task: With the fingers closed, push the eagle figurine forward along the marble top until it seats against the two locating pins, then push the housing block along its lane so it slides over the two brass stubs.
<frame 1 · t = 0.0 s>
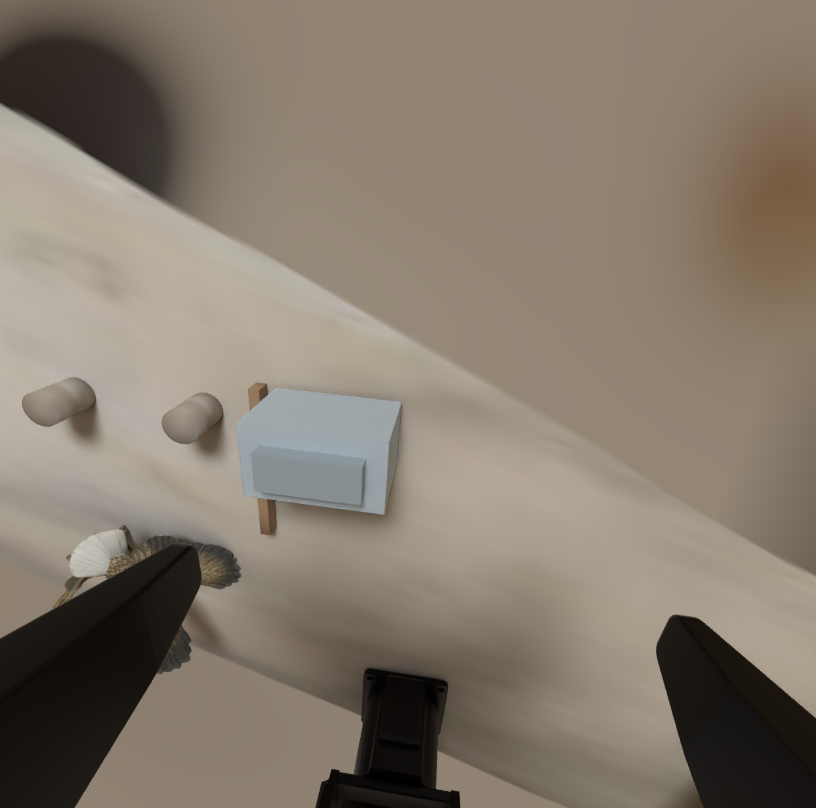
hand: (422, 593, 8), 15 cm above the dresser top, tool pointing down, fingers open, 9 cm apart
pin seat fixture: (237, 469, 25), on the dresser top
housing block: (324, 450, 20), point 3 cm above the dresser top, slide at 0.0 cm
eagle figurine: (178, 551, 29), on the dresser top
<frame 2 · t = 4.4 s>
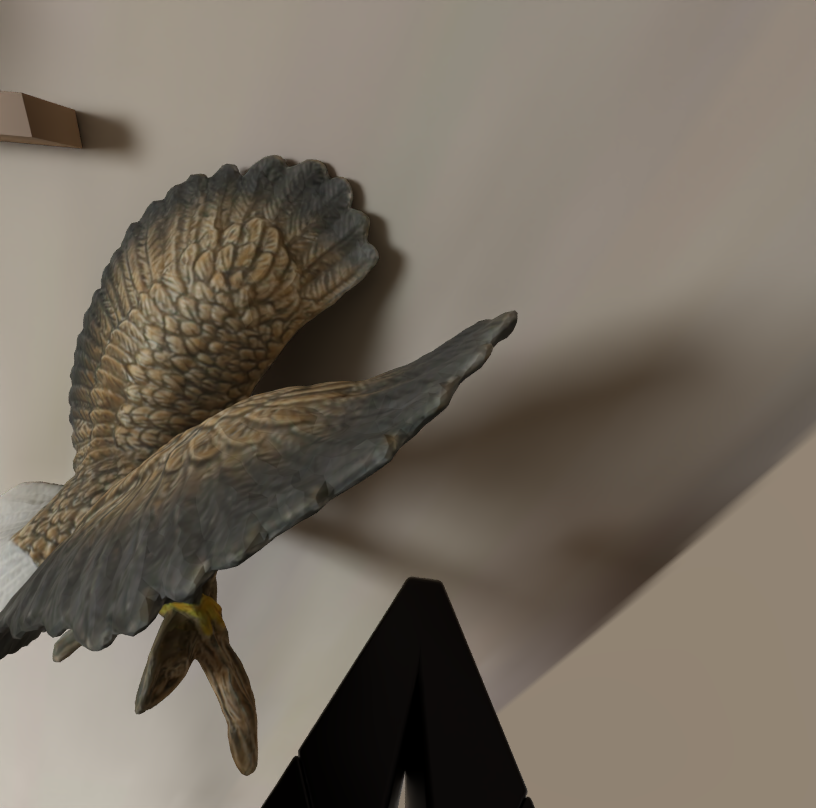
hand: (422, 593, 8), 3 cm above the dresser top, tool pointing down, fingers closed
eagle figurine: (274, 392, 9), on the dresser top, touching gripper
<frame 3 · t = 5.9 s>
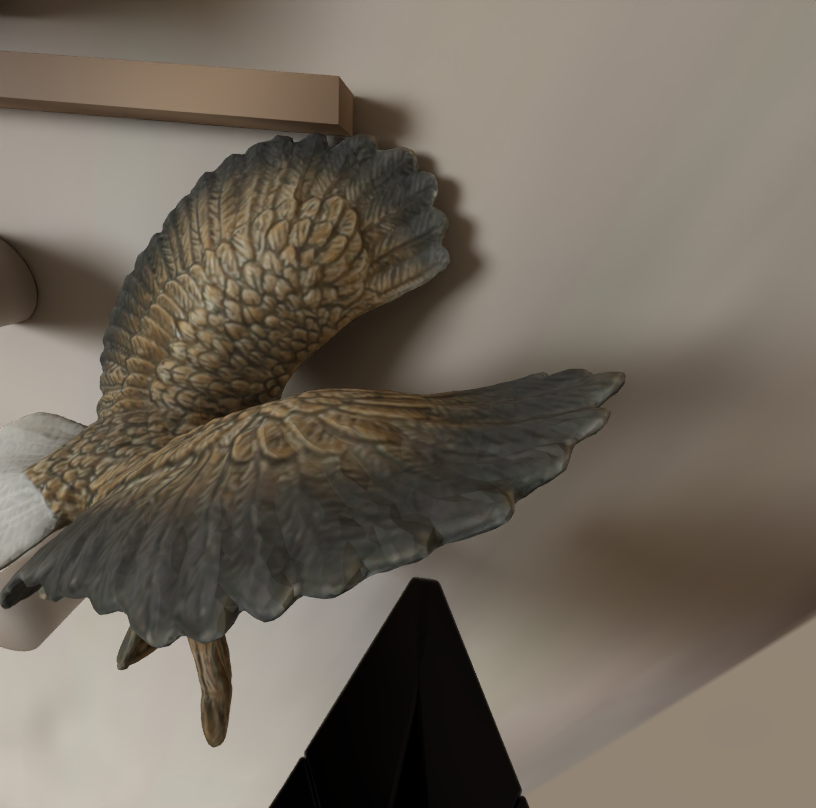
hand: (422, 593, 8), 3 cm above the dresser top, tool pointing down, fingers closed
pin seat fixture: (153, 220, 8), on the dresser top
eagle figurine: (306, 371, 9), on the dresser top, touching gripper, pin seat fixture
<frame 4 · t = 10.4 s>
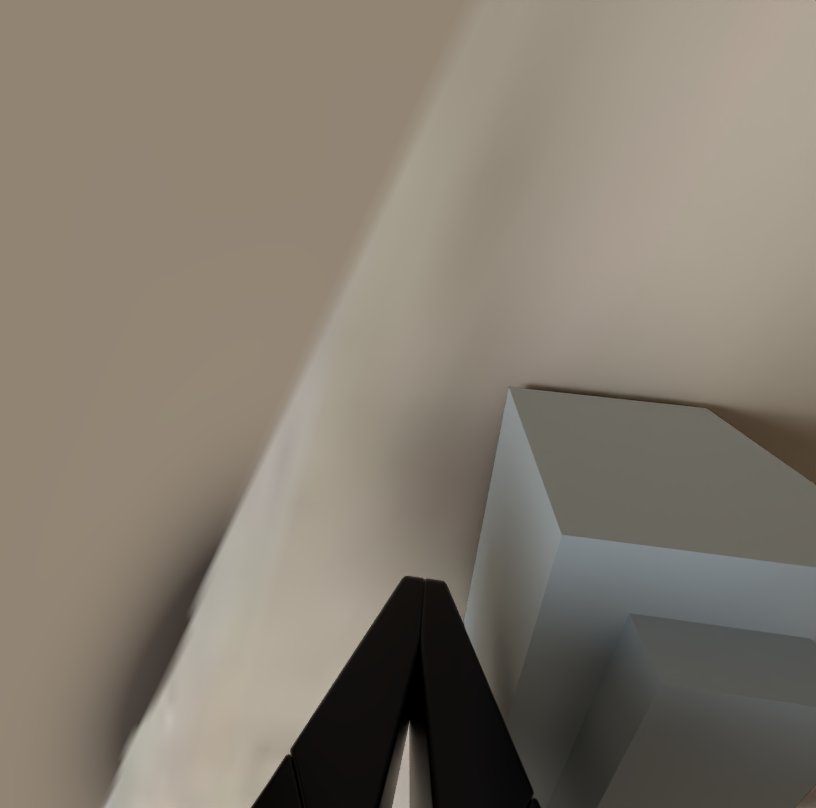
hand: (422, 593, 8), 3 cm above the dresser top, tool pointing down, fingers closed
housing block: (603, 629, 7), point 3 cm above the dresser top, slide at 1.0 cm, touching gripper
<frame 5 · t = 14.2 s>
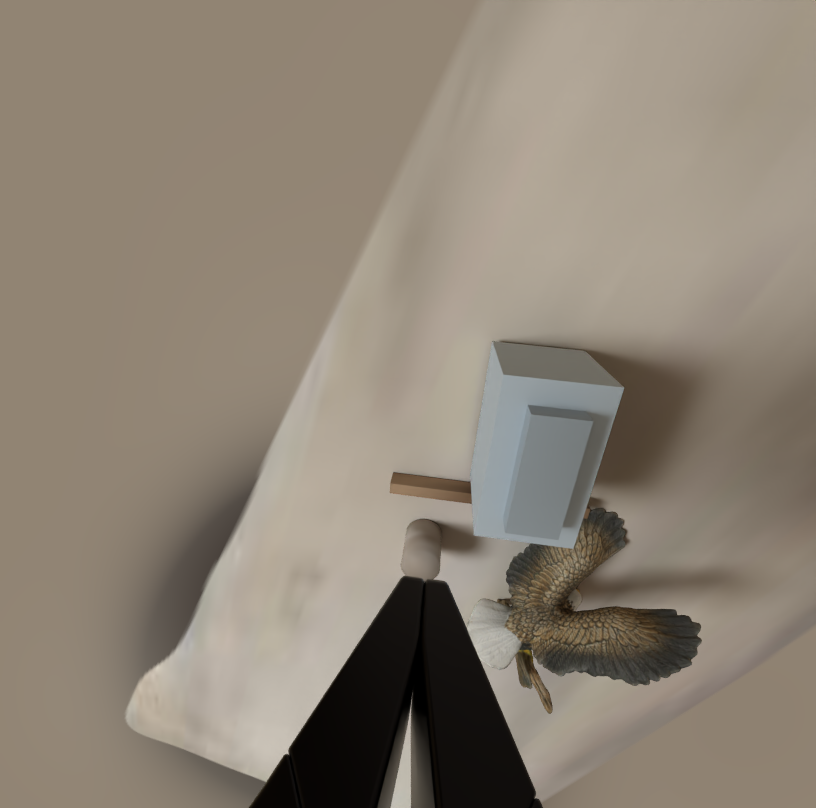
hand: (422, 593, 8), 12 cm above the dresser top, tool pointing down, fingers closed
pin seat fixture: (499, 521, 22), on the dresser top
housing block: (532, 444, 17), point 3 cm above the dresser top, slide at 4.0 cm
eagle figurine: (553, 565, 23), on the dresser top
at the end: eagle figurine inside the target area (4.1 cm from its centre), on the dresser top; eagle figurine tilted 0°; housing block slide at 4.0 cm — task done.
